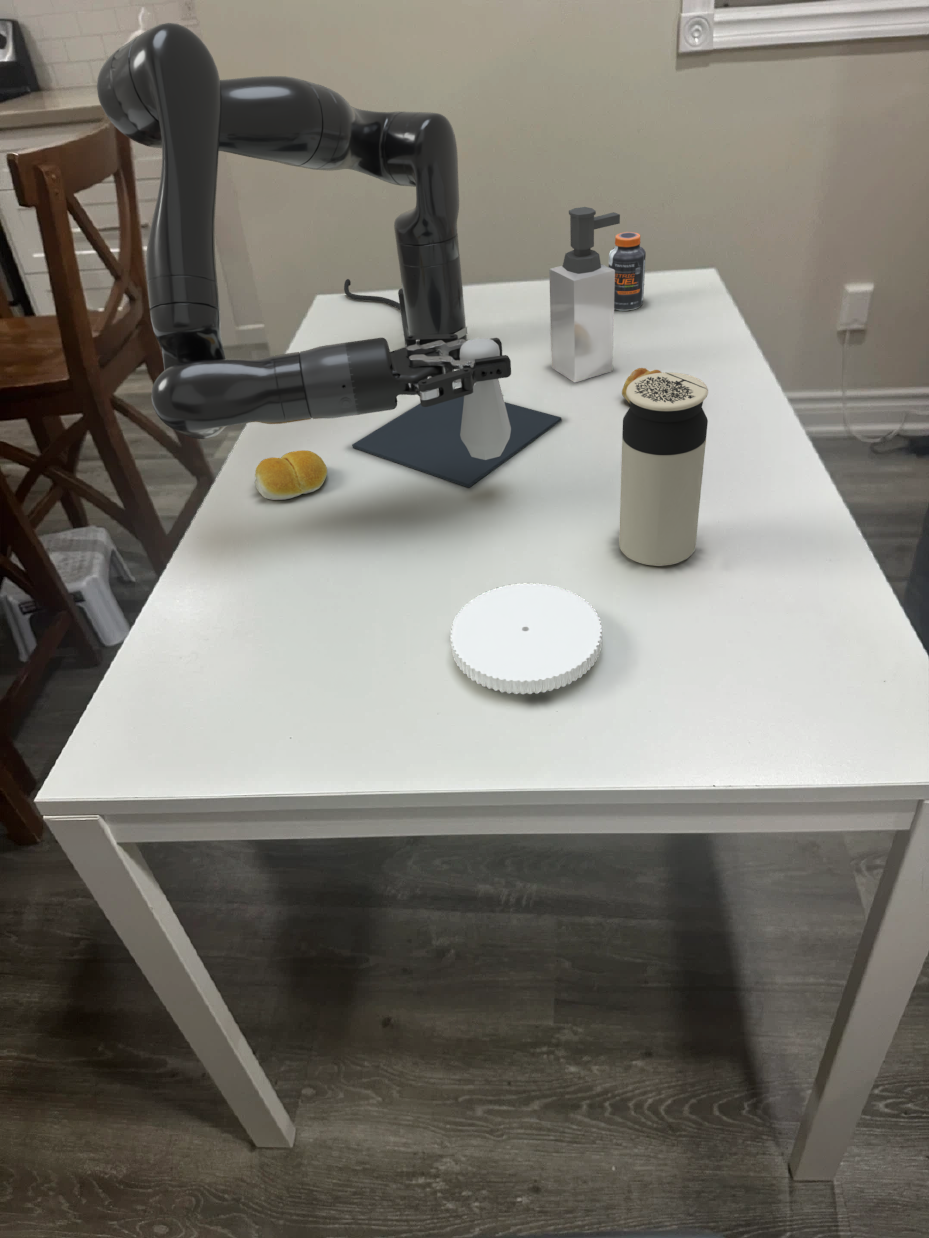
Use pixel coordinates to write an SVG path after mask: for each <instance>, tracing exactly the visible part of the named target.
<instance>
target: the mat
mask: <svg viewBox="0 0 929 1238" xmlns="http://www.w3.org/2000/svg"><path fill="white" fill-rule="evenodd" d="M504 403H505V407H506V411H507V414H508V418H509V422H510V426H511V433H510V438H509V440H508V442H507V444H506V446H505V448H504V450H503V452H502V454H501V455H500V456H499V457H495V458H491V459H487V460H483V459H479V458H474V457H471V455H470V453H469V451H468V449H467V447H466V446H465V444H464V443H463V441H462V440H461V436H460V433H461V423H462V414H463V404H464V396H462V397H459V398H456V399H452V400H449V401H446V402H442V403H439V404H435V405H432V406H429V407H423V406H421V403H420V402H419V403H418V404H416V405H415V406H412V407H411V408H410V409H408V410H406V411H404V413H403V412H402V413H401V415H399V416H396V417H395V418H393V419H392V420H390V421H389V422H387V423H385V424H383V425H382V426H380V427H379V428H377V429H375V430H374V431H372V432H370V433H369V434H367V435H366V436H364V437H362V438H360V439H359V440H357V441H355V442H354V443H352V444H351V447H352V448H353V449H355V450H358V451H361V452H364V453H367V454H370V455H373V456H375V457H379V458H380V459H384V460H387V461H390V462H392V463H395V464H399V465H402V466H404V467H408V468H411V469H413V470H417V471H419V472H422V473H424V474H427V475H431V476H433V477H436V478H440V479H442V480H445V481H448V482H452V483H454V484H457V485H460V486H462V487H466V488H468V489H469V488H471V487H472V486H474V485H475V484H476V483H478V482H479V481H481V480H482V479H483V478H485V477H486V476H487V475H489V474H490V473H491V472H493V471H494V470H496V469H497V468H499V467H500V466H501V465H502V464H504V463H506V461H509V460H510V459H511V458H512V457H513V456H515V455H516V454H518V453H519V452H521V450H523V449H525V448H526V447H527V446H528V445H530V444H531V443H533V442H534V441H535V440H537V439H538V438H539V437H541V436H542V435H544V434H545V433H546V432H548V431H549V430H551V429H552V428H553V427H555V426H556V425H558V424H559V423H560V422H562V417H561V416H558V415H554V414H550V413H547V412H543V411H540V410H535V409H533V408H528V407H524V406H521V405H517V404H513V403H510V402H506V401H504Z"/></svg>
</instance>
